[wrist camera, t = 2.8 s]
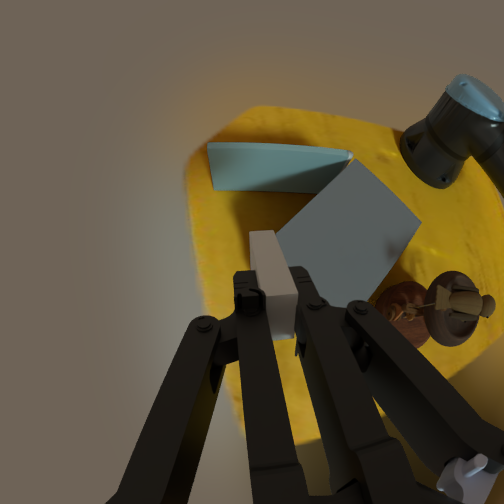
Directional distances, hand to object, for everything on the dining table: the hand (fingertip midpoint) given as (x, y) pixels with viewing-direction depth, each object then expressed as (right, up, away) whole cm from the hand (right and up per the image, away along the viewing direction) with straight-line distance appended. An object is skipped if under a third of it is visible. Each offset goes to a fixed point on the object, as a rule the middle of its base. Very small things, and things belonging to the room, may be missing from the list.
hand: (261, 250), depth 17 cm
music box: (+24, -10, +20) cm, 33 cm away
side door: (+3, +10, +25) cm, 27 cm away
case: (+9, -2, +22) cm, 24 cm away
